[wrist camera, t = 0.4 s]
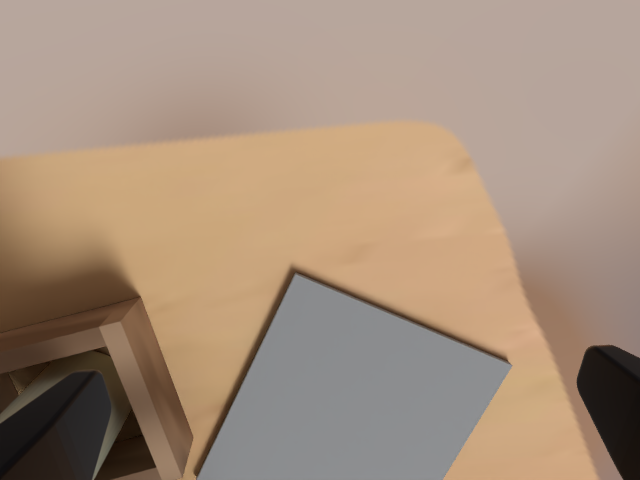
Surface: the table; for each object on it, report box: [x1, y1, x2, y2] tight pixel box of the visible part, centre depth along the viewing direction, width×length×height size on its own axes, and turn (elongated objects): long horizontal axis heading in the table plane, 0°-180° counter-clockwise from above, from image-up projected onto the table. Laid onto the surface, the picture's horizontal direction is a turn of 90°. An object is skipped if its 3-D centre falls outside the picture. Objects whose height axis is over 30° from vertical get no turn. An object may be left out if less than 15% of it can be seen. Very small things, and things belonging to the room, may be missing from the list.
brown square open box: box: [0, 297, 193, 480], centre depth 22 cm, size 9×9×3 cm
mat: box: [196, 272, 512, 480], centre depth 25 cm, size 14×14×1 cm
